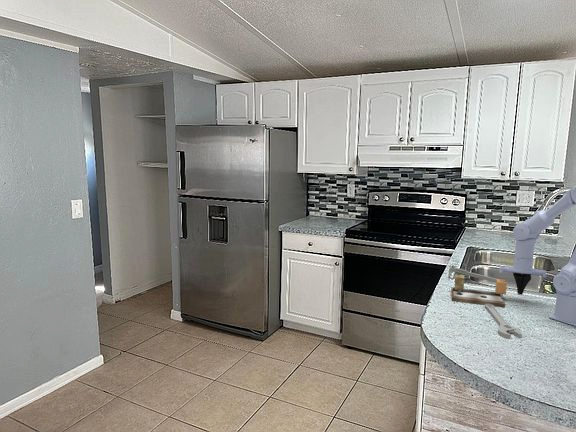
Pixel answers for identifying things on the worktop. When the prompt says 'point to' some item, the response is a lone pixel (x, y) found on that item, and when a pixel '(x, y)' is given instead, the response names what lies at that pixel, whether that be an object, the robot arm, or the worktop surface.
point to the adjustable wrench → (502, 323)
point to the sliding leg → (501, 287)
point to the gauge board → (474, 294)
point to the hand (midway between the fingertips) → (519, 293)
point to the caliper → (468, 274)
